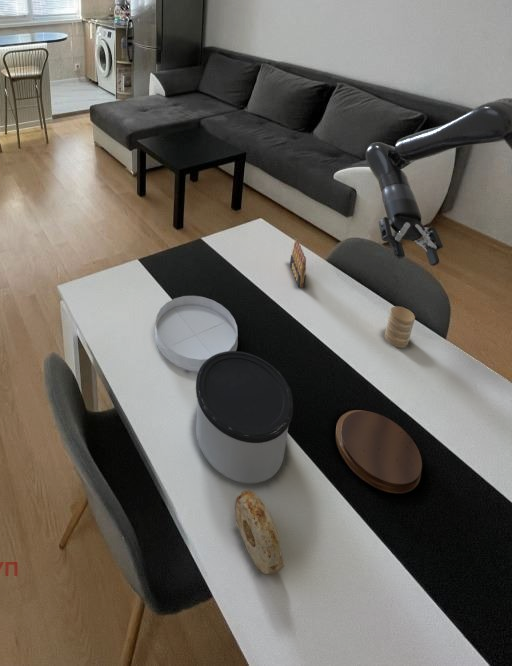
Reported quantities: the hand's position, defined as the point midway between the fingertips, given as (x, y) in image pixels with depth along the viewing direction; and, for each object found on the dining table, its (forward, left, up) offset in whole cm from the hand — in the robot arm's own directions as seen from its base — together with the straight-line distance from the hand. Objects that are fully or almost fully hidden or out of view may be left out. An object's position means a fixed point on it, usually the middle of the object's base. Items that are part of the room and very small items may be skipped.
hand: (417, 261), depth 106 cm
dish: (+47, +28, -24) cm, 60 cm away
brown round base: (+4, +37, -24) cm, 45 cm away
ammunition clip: (+28, -10, -24) cm, 38 cm away
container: (+29, +48, -24) cm, 61 cm away
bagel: (+21, +65, -24) cm, 73 cm away
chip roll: (+1, +3, -24) cm, 24 cm away
